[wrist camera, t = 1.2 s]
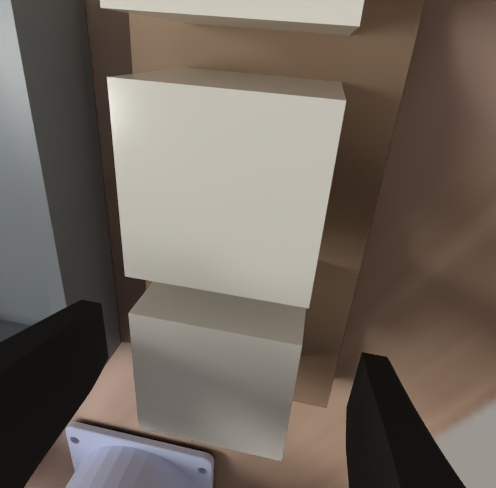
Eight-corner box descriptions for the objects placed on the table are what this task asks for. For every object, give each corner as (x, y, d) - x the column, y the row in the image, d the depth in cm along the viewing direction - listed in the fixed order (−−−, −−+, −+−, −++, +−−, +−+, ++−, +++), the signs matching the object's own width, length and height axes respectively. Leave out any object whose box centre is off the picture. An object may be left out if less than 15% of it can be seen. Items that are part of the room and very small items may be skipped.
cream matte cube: (294, 355, 14) (281, 461, 10) (186, 334, 14) (138, 428, 11) (311, 257, 12) (301, 346, 8) (186, 238, 12) (128, 312, 9)
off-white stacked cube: (315, 228, 11) (309, 308, 8) (186, 209, 12) (125, 276, 8) (341, 81, 9) (346, 100, 6) (185, 67, 10) (106, 77, 6)
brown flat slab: (327, 378, 16) (326, 407, 14) (165, 346, 17) (151, 371, 15) (456, -185, 8) (480, -230, 7) (145, -184, 9) (113, -224, 8)
